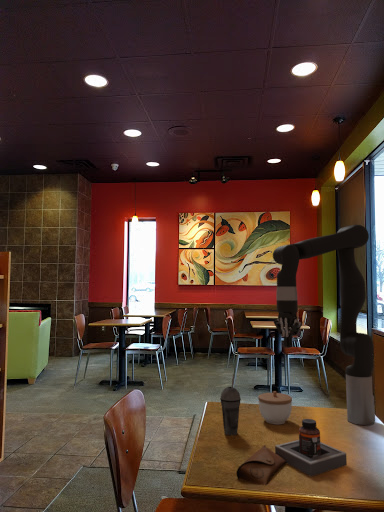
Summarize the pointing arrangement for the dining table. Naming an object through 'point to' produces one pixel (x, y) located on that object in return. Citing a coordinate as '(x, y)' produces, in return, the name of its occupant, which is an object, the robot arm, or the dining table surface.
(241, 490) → the dining table surface
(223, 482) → the dining table surface
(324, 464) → the holder block
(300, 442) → the supplement bottle
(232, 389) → the beverage cup
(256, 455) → the sunglasses case
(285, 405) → the lidded bowl
